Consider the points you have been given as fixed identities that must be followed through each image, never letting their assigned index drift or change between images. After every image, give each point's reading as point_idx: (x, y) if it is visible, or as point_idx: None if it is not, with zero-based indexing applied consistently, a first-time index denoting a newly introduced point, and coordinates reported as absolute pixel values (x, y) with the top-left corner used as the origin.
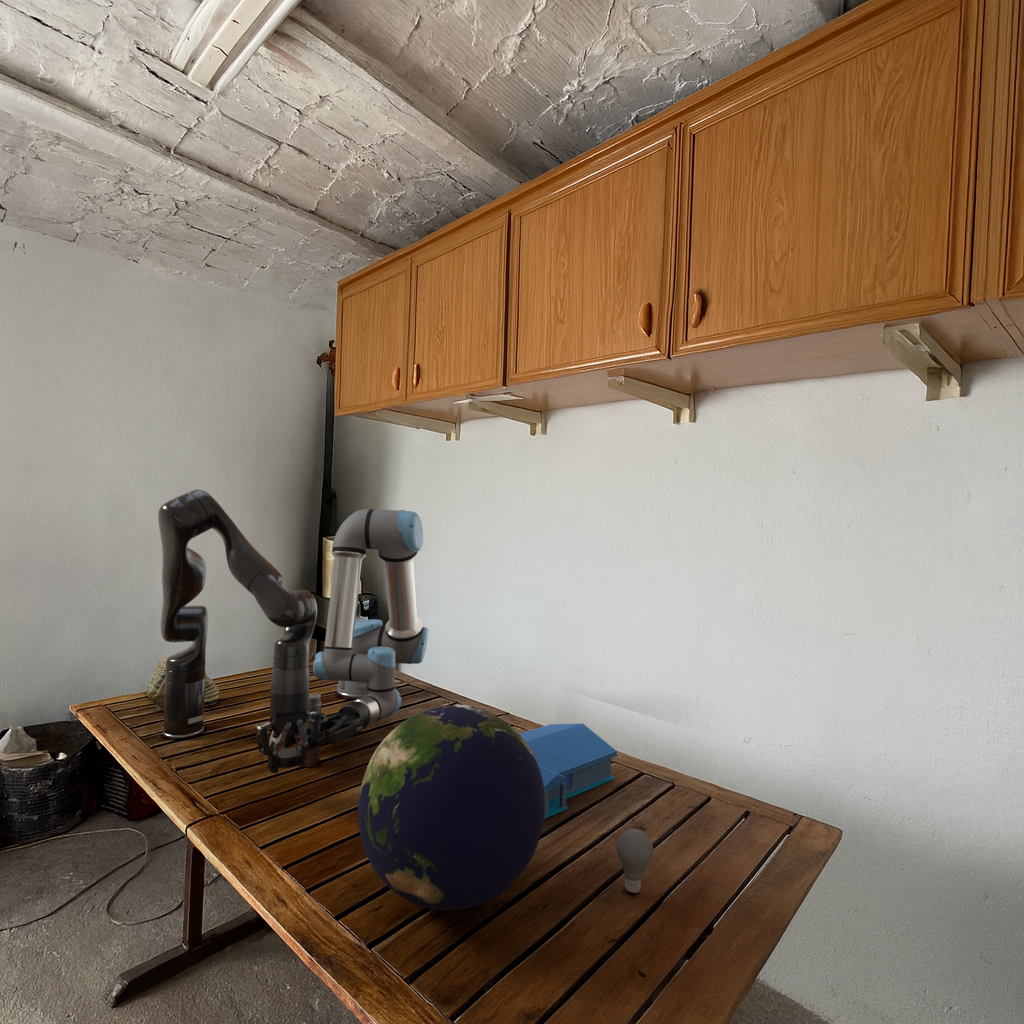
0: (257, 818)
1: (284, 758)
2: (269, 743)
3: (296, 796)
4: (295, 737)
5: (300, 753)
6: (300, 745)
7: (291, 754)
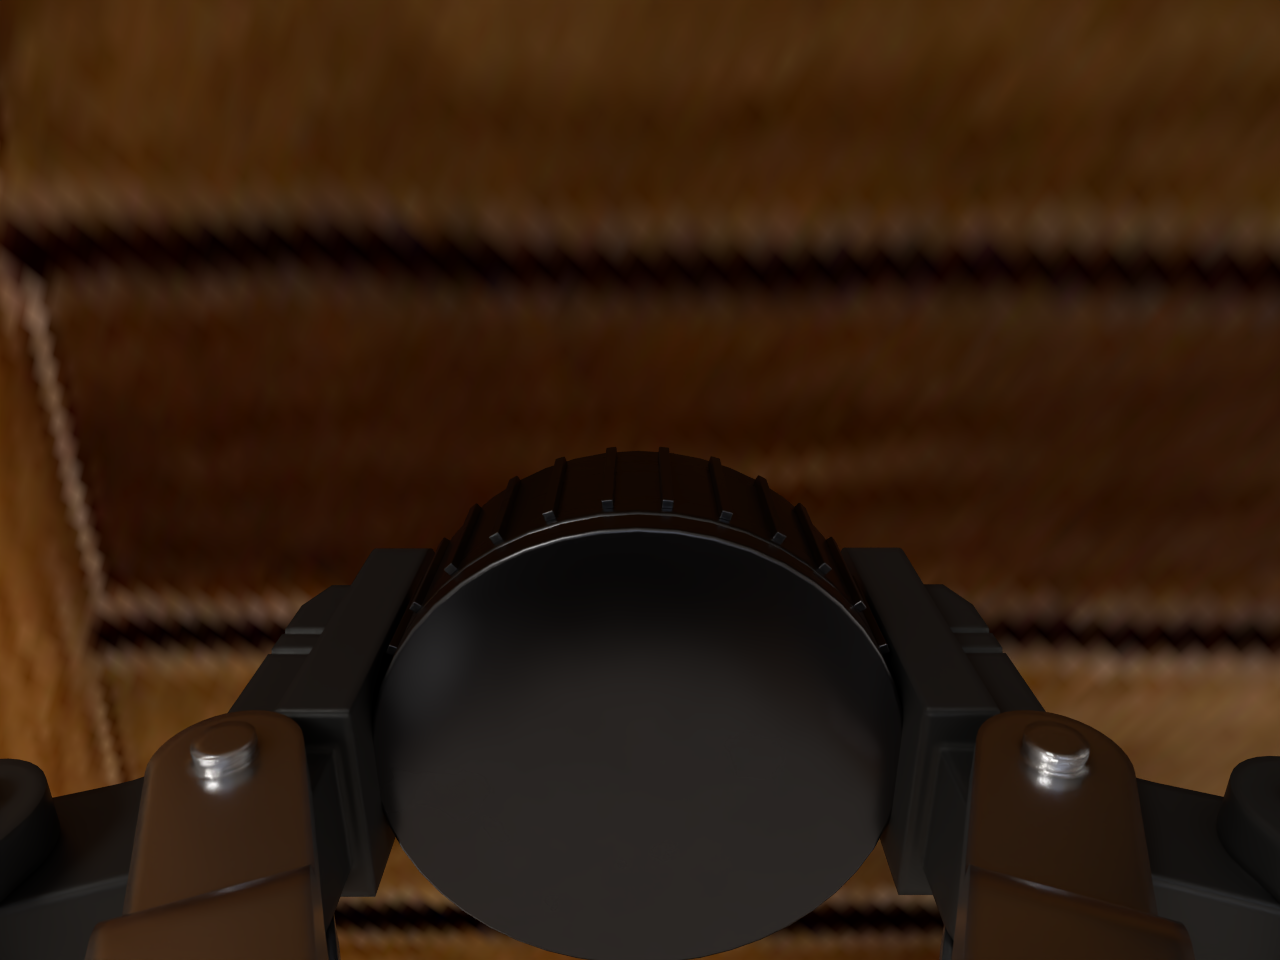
0: (276, 573)
1: (470, 908)
2: (129, 885)
3: (754, 448)
4: (966, 869)
5: (800, 916)
6: (940, 856)
7: (649, 869)
